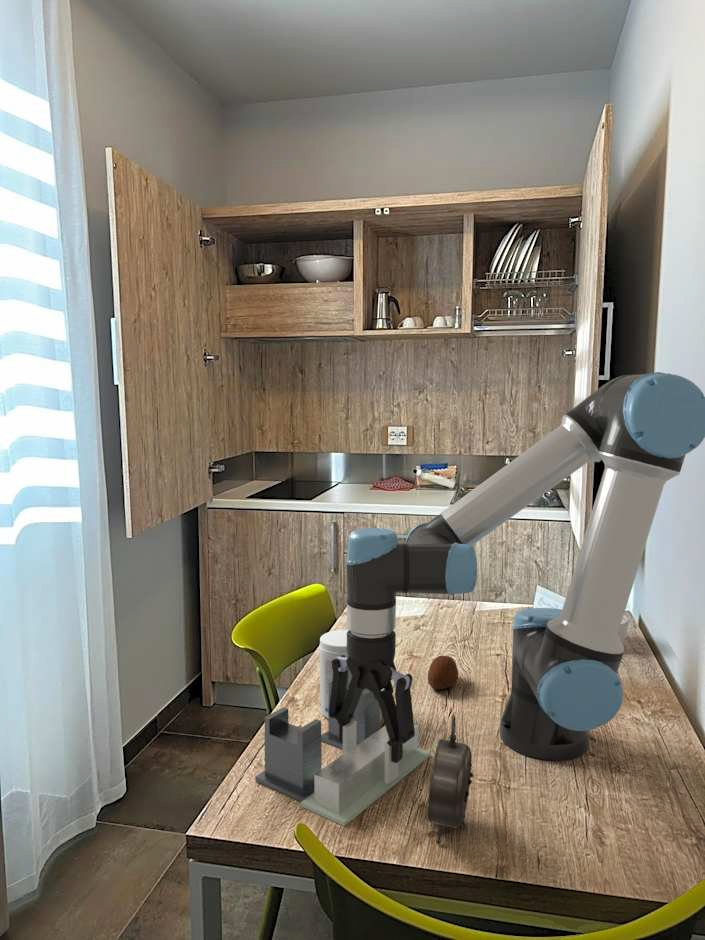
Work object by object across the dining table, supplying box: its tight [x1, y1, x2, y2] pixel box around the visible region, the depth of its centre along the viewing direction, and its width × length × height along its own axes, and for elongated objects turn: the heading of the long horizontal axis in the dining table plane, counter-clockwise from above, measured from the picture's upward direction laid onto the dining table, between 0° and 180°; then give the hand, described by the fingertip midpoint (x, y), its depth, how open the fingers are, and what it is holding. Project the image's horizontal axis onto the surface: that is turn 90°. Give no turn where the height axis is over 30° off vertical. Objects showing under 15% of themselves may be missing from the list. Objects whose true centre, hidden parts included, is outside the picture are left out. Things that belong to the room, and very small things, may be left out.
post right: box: [321, 676, 381, 750], centre depth 122 cm, size 10×6×10 cm, turn 54°
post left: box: [254, 706, 322, 803], centre depth 109 cm, size 10×6×10 cm, turn 54°
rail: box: [314, 723, 420, 814], centre depth 111 cm, size 4×22×4 cm, turn 144°
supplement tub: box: [318, 629, 366, 719], centre depth 133 cm, size 10×10×15 cm
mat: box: [300, 747, 431, 827], centre depth 111 cm, size 8×24×1 cm, turn 144°
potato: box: [427, 655, 459, 690], centre depth 146 cm, size 6×12×6 cm, turn 161°
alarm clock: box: [427, 714, 474, 845], centre depth 98 cm, size 11×5×16 cm, turn 164°
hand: (369, 770), depth 111 cm, fingers open, 7 cm apart
